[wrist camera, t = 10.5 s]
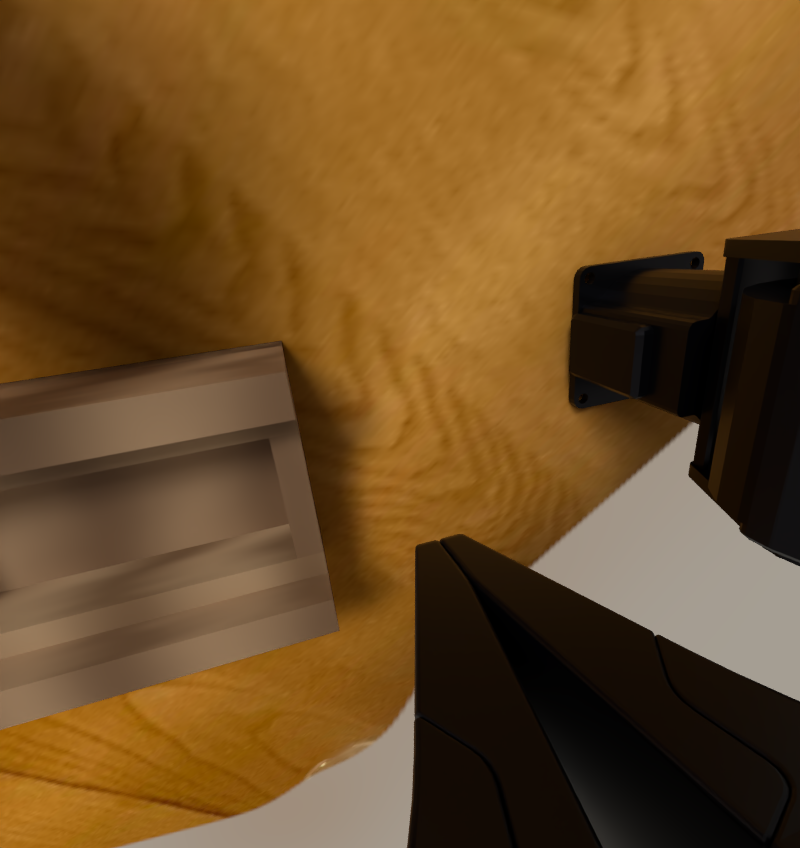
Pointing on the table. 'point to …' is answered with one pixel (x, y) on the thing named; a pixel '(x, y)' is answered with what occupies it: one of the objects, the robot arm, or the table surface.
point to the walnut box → (152, 527)
